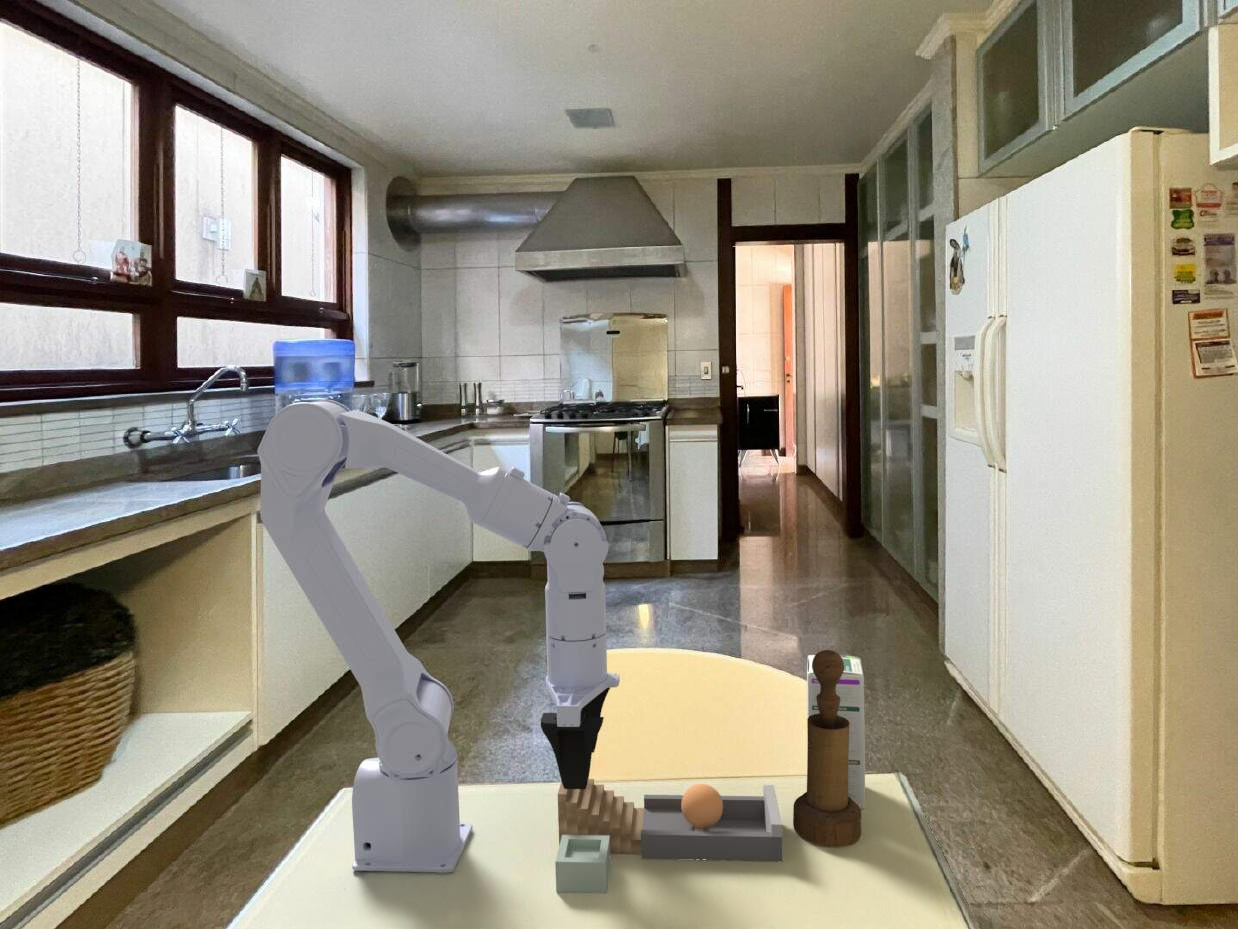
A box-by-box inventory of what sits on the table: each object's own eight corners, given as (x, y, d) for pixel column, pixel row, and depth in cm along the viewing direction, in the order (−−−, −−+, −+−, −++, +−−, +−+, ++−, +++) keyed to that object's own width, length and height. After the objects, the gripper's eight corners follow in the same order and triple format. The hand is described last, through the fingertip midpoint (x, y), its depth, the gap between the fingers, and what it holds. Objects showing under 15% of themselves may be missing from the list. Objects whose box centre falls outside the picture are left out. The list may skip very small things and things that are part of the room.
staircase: (559, 852, 82) (557, 794, 81) (567, 820, 88) (566, 765, 87) (641, 854, 81) (640, 795, 81) (644, 821, 87) (643, 766, 87)
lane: (641, 859, 81) (640, 822, 80) (644, 817, 88) (644, 783, 88) (782, 861, 80) (782, 824, 79) (773, 819, 87) (773, 785, 87)
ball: (682, 837, 82) (680, 798, 81) (682, 814, 86) (680, 776, 85) (725, 836, 82) (722, 797, 81) (723, 813, 86) (721, 775, 85)
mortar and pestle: (876, 837, 83) (878, 656, 82) (822, 855, 81) (823, 668, 79) (831, 807, 89) (832, 637, 88) (779, 822, 87) (779, 647, 85)
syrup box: (866, 811, 89) (867, 673, 87) (807, 806, 90) (807, 670, 88) (862, 784, 94) (863, 655, 93) (806, 780, 95) (806, 652, 94)
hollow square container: (556, 892, 76) (555, 861, 76) (563, 863, 80) (562, 834, 80) (606, 893, 76) (605, 862, 75) (610, 864, 80) (609, 835, 80)
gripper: (612, 657, 75) (615, 806, 77) (623, 611, 90) (625, 737, 91) (531, 657, 76) (536, 805, 77) (555, 611, 90) (559, 736, 92)
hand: (580, 768), depth 84 cm, fingers open, 7 cm apart
